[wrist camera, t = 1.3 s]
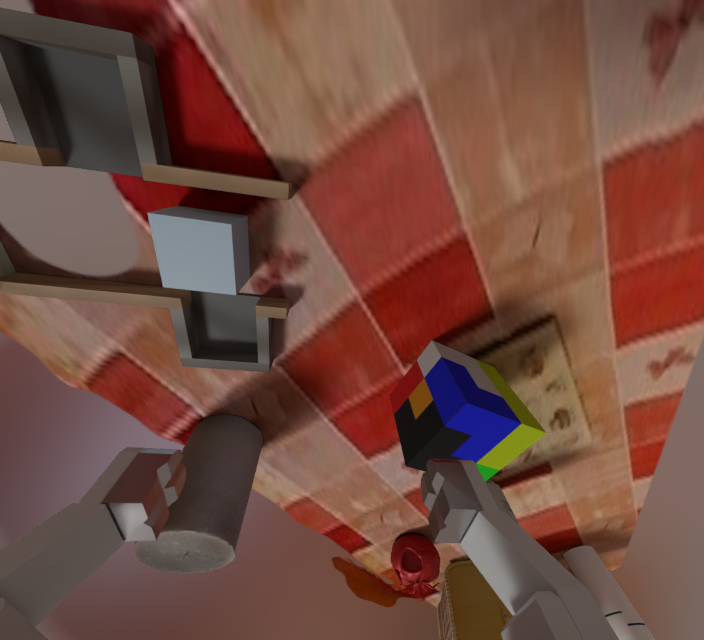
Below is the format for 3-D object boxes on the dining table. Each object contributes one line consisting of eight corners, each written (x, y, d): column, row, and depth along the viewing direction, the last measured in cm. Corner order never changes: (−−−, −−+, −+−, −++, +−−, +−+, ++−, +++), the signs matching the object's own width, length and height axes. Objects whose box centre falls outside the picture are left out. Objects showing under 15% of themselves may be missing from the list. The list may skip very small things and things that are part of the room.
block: (178, 205, 24) (147, 212, 20) (248, 215, 25) (231, 224, 21) (188, 269, 27) (163, 287, 23) (250, 277, 27) (236, 295, 23)
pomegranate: (442, 533, 58) (460, 592, 50) (413, 553, 62) (426, 611, 54) (406, 525, 55) (420, 586, 47) (378, 546, 58) (386, 606, 50)
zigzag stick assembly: (-145, -9, 17) (-251, -49, 14) (295, 73, 20) (287, 56, 17) (39, 343, 30) (5, 362, 27) (288, 361, 33) (283, 381, 30)
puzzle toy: (431, 339, 32) (467, 402, 24) (494, 367, 35) (546, 432, 26) (389, 395, 36) (405, 466, 28) (447, 415, 39) (479, 486, 30)
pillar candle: (195, 453, 40) (130, 590, 27) (192, 408, 36) (112, 547, 23) (261, 459, 42) (230, 590, 29) (267, 417, 37) (232, 550, 24)
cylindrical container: (588, 556, 67) (709, 741, 46) (560, 560, 68) (665, 745, 46) (597, 543, 64) (731, 737, 42) (566, 547, 64) (684, 742, 42)
